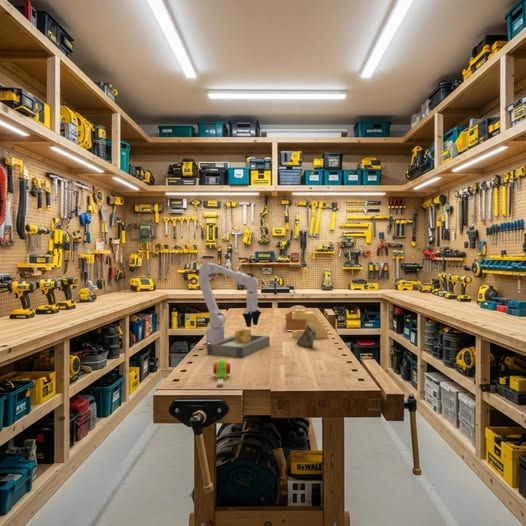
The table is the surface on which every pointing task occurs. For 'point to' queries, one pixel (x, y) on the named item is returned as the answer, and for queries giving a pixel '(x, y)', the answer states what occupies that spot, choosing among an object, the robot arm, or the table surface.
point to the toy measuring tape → (221, 371)
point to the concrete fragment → (307, 337)
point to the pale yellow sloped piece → (309, 323)
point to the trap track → (237, 346)
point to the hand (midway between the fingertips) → (251, 325)
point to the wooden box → (295, 323)
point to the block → (242, 336)
